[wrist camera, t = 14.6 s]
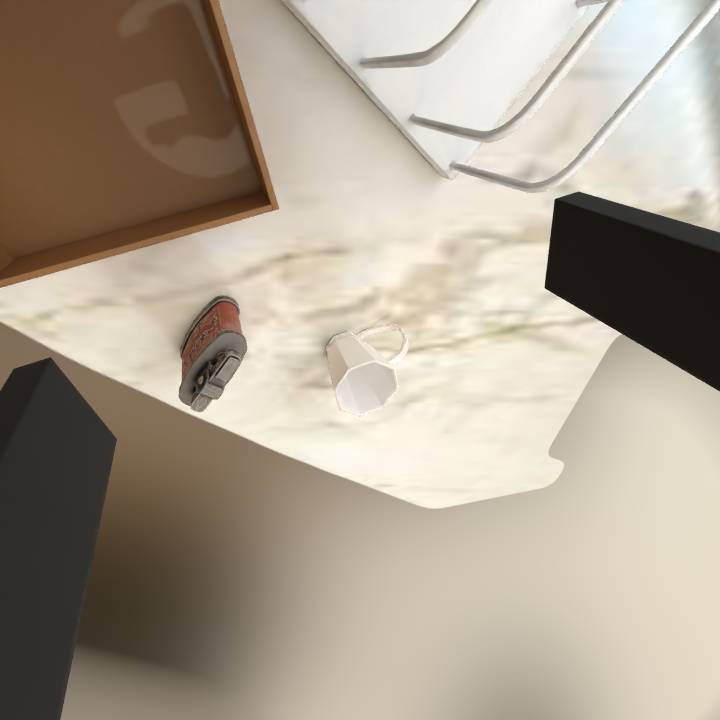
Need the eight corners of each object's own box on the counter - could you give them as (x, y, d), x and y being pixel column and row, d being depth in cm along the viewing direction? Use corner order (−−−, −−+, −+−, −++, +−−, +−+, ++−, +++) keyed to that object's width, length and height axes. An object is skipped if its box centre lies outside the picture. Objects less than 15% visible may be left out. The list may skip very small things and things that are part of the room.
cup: (301, 347, 45) (319, 391, 39) (373, 292, 44) (404, 327, 38) (336, 383, 49) (357, 427, 43) (402, 333, 49) (434, 371, 42)
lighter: (203, 366, 42) (207, 431, 35) (172, 352, 40) (168, 418, 33) (246, 306, 40) (260, 360, 33) (215, 289, 38) (222, 342, 31)
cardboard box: (-208, -26, 22) (-295, -49, 18) (185, -87, 25) (184, -118, 21) (11, 265, 32) (-13, 291, 28) (269, 194, 35) (279, 209, 32)
